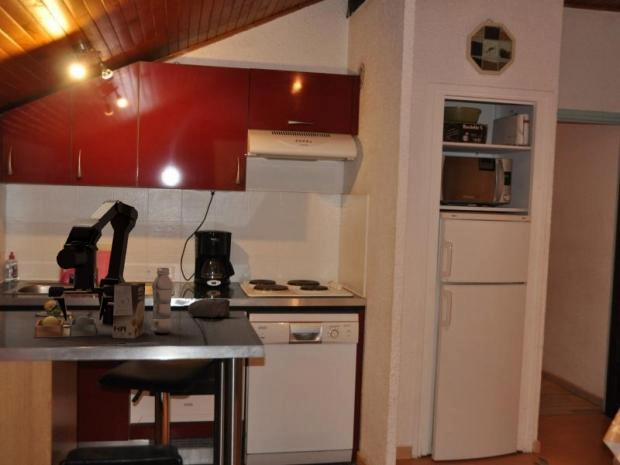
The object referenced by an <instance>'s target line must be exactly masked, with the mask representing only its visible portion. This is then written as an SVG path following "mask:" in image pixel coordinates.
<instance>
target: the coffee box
mask: <svg viewBox="0 0 620 465" xmlns="http://www.w3.org/2000/svg"><path fill="white" fill-rule="evenodd" d="M145 300H146V282H135V281H134V282H133V281H132V282H130V281H128V282H127V281H125V283H120V284H115V285H114V312H113V324H112V338H113V339H115V338H116V339H135V338H137V337H139V336H141V335H143V334H144V332H145V331H144V330H145V307H146V304H145V303H146V301H145Z"/></svg>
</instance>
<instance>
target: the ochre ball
mask: <svg viewBox="0 0 620 465" xmlns="http://www.w3.org/2000/svg"><path fill="white" fill-rule="evenodd" d="M57 319H58V318H57V317H53V316H49V317H44V319H42V320H43V322H42V326H58V320H57Z"/></svg>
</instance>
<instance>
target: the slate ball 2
mask: <svg viewBox="0 0 620 465" xmlns="http://www.w3.org/2000/svg"><path fill="white" fill-rule="evenodd" d="M75 325H91V323H90V321H89V320H88V319H85V318H82V319H79V320H78V321H77V322H76V324H75Z"/></svg>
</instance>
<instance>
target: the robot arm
mask: <svg viewBox="0 0 620 465" xmlns="http://www.w3.org/2000/svg"><path fill="white" fill-rule="evenodd" d="M138 212H139V211H138V210H137V209H136V208H135V207H134V206H132V205H130V204H127V203H124V202H123V201H122V200H119V199H107V200H104V201H103V203H102V205H101V206H100V207H99V208H98V209H97V210H96V211H94V213H93V214H92V215H91V216H90V217H89V218H87V219H83V220H79V221H78V222H77V223H75V224H73V226H72V227H71V229H70V232H69V233H68V236H67V238H66V240H65V243H64V244H63V248H62V249H60V250H59V251H58V253H57V255H56V258H55V260H56V263H57V266H58V267H59V268H61V269H63V270H72V269H73V273H69V274H68V275H69V276H68V285H69V286H73V287H65V284H56V285H55V284H52V285H51V286H49V288H48V292H47V293H48V294H47V295H48V298H52V301H57V303H58V306H59V307H61V309H62V312H63V316H62V317H63V319H64V322H67V321H68V316H67V311H68V310H67V303H66V295H97V298H98V304H99V308H100V309H99V317H98V318H99V321H101V323H102V324H105V325H113V312H114V285H115V284H120V283H125V282H126V280H125V278H124V272H125V264H126V258H127V252H128V251H127V250H128V245H129V244H128V242H129V237H130V234H131V232H132V231H133V229H134V228H136V225H137V224H136V223H137V220H138V218H139V213H138ZM108 224H110V225H111V228H112V230H113V234H112V242H111V249H110V255H109V262H108V269H107V274H106V275H105V277H104V278H101V279H100V280H99V287H95V285H96V284H95V283H96V255H97V253H96V252H98V251H99V250H100V249H99V248H98V246H97V245H96V244H97V243H98V242H99V241H100V239H101V238H102V236H103V232H102V230H103V229H104V228H105V227H106V226H107V225H108Z"/></svg>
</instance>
